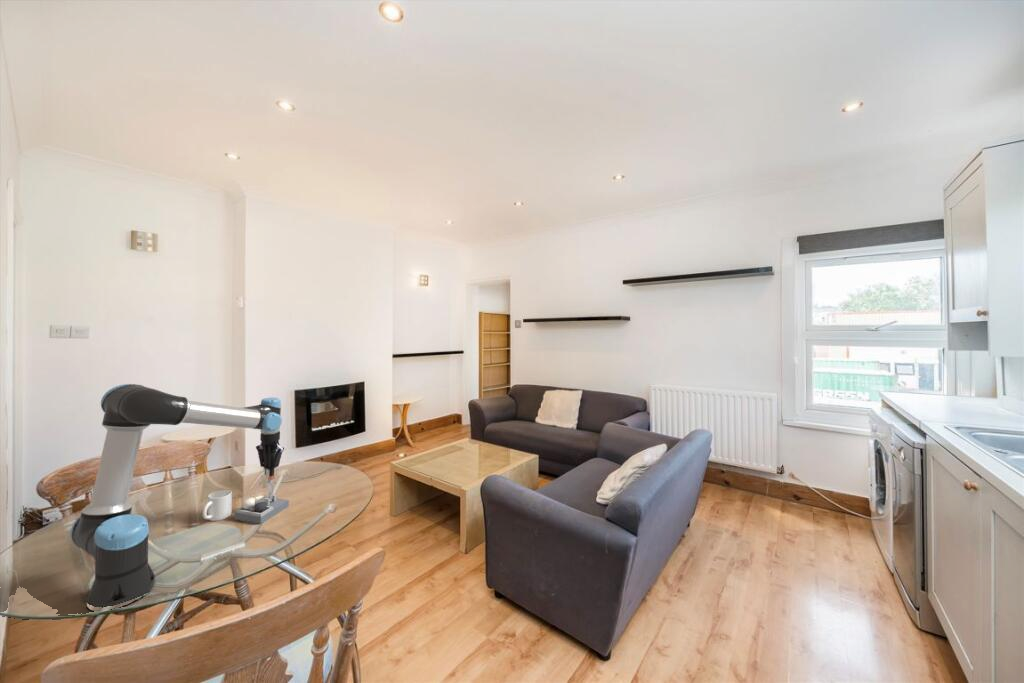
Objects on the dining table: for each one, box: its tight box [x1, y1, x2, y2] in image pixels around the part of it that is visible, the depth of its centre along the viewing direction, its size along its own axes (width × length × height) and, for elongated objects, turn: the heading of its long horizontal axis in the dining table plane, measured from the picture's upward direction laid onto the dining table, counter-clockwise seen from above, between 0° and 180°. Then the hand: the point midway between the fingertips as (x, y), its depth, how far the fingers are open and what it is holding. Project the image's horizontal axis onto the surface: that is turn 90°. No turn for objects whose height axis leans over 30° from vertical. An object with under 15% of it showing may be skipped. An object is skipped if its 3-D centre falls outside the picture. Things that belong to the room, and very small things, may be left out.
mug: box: [201, 489, 233, 522], centre depth 163 cm, size 12×8×10 cm
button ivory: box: [242, 497, 256, 509], centre depth 166 cm, size 4×4×3 cm
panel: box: [234, 494, 290, 525], centre depth 170 cm, size 16×13×6 cm
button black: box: [255, 502, 267, 513], centre depth 165 cm, size 4×4×3 cm
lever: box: [267, 474, 275, 502], centre depth 173 cm, size 2×1×13 cm
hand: (269, 481), depth 174 cm, fingers closed
